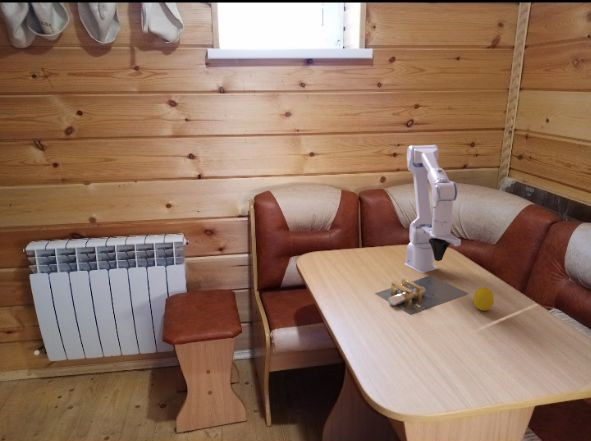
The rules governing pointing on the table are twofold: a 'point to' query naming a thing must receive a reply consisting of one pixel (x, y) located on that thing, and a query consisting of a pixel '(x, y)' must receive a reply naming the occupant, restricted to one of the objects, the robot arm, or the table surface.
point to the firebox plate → (434, 293)
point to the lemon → (483, 298)
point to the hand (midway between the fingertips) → (438, 260)
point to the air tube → (402, 297)
